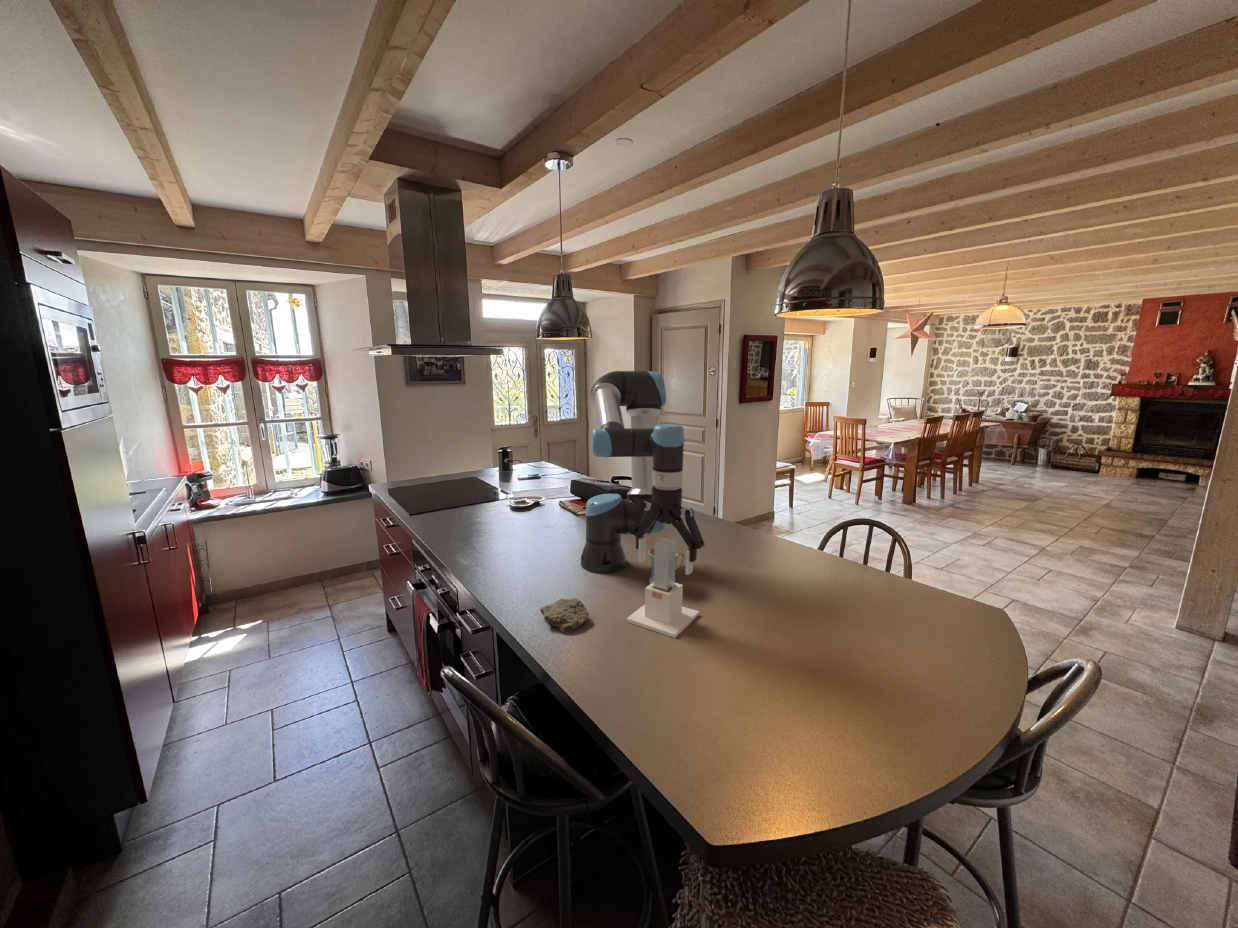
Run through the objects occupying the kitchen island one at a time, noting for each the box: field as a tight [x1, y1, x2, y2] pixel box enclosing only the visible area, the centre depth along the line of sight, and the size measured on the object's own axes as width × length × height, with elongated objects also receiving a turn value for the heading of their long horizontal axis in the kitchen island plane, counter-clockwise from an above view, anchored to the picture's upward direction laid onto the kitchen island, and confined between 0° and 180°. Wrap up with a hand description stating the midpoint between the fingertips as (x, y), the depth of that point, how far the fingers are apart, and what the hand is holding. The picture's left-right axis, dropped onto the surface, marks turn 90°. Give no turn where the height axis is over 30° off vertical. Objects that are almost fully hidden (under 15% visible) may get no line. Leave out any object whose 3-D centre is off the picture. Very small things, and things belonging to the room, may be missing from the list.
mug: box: [647, 547, 685, 585], centre depth 149 cm, size 12×9×11 cm
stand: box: [626, 582, 700, 639], centre depth 128 cm, size 14×14×9 cm
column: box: [654, 537, 677, 593], centre depth 127 cm, size 4×4×20 cm
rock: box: [539, 597, 590, 634], centre depth 127 cm, size 11×12×4 cm
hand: (664, 567), depth 126 cm, fingers open, 13 cm apart
